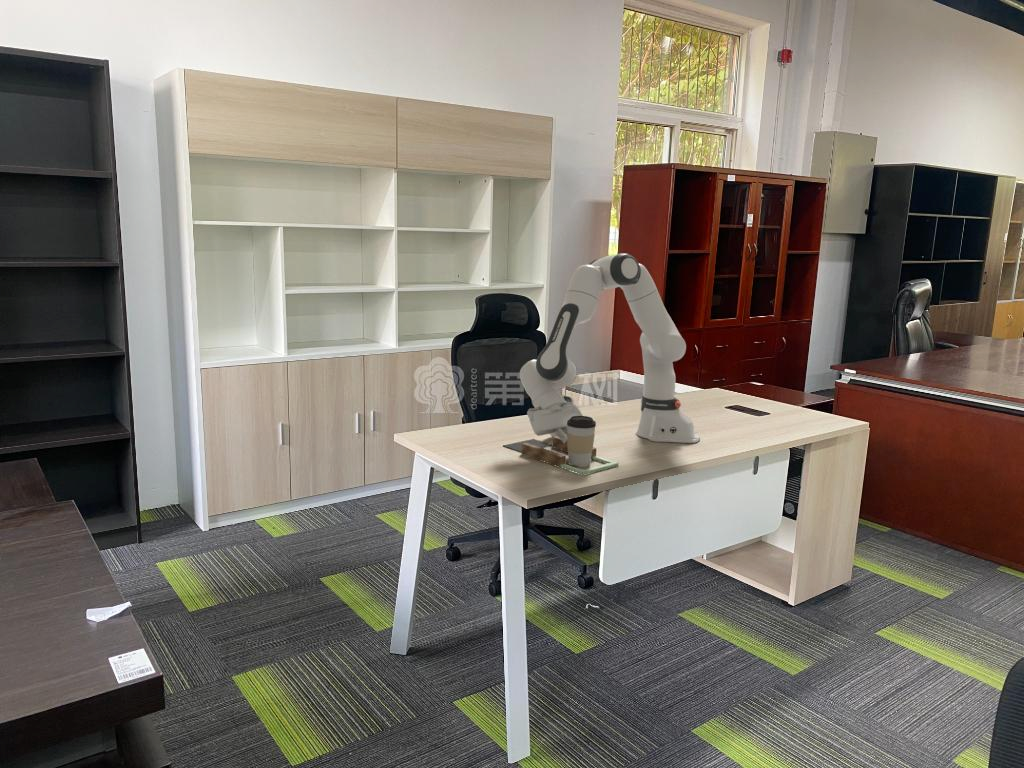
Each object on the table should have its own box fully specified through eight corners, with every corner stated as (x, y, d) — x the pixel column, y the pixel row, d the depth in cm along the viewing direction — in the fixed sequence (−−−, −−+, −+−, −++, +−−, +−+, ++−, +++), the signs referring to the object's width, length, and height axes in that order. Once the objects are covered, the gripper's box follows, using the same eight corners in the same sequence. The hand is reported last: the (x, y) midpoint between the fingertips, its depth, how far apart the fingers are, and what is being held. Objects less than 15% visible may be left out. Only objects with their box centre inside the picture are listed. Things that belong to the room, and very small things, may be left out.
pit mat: (503, 446, 252) (503, 445, 252) (533, 439, 261) (533, 438, 261) (520, 452, 245) (520, 451, 245) (551, 445, 254) (551, 444, 254)
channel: (521, 454, 244) (521, 443, 243) (556, 446, 254) (557, 436, 253) (560, 467, 230) (561, 456, 230) (595, 458, 241) (596, 448, 240)
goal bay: (560, 467, 230) (560, 464, 230) (595, 458, 241) (595, 455, 241) (582, 475, 223) (583, 472, 223) (618, 465, 234) (618, 462, 234)
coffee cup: (563, 458, 240) (565, 413, 237) (591, 459, 240) (593, 413, 237) (566, 467, 231) (569, 420, 228) (595, 467, 231) (598, 420, 228)
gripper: (530, 403, 234) (550, 441, 229) (576, 396, 247) (595, 431, 242) (520, 414, 238) (539, 451, 233) (565, 407, 252) (585, 442, 246)
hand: (568, 441), depth 238 cm, fingers closed, pressing on coffee cup
